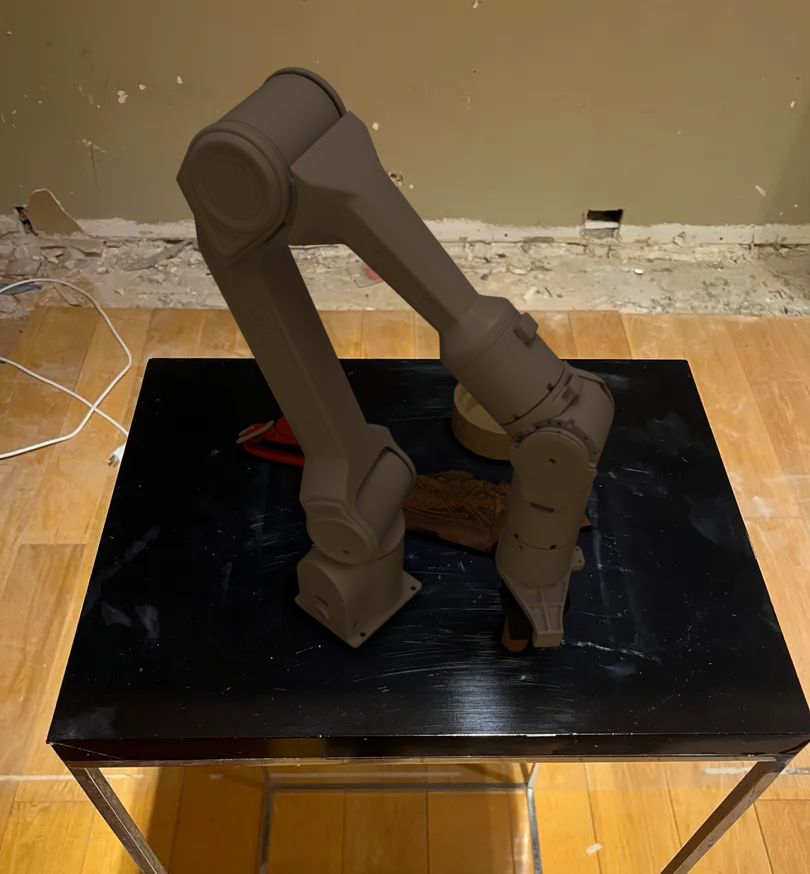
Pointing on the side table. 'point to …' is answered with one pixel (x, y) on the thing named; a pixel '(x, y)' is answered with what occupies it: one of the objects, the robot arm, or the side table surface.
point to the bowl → (478, 427)
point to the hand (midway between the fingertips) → (518, 622)
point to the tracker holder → (272, 434)
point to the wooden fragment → (458, 508)
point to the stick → (512, 644)
